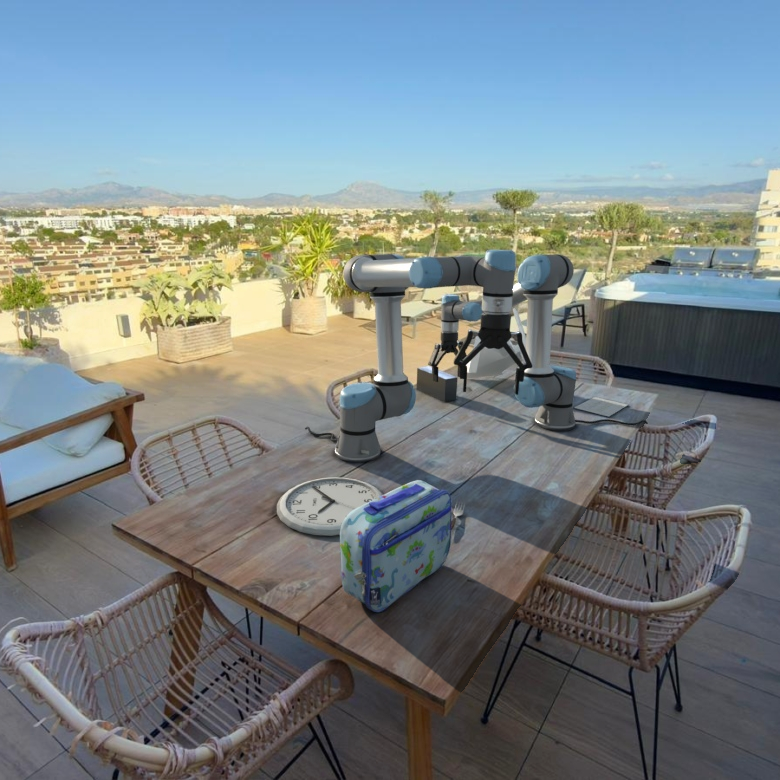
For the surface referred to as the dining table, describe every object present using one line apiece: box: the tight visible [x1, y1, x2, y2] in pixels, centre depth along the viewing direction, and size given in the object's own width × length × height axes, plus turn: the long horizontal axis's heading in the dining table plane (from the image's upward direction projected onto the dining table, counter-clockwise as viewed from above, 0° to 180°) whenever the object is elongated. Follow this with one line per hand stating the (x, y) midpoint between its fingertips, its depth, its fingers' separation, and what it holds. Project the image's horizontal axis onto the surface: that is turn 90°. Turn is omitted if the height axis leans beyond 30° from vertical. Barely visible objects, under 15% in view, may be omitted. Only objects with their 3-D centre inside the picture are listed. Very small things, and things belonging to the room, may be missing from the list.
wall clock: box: [276, 476, 385, 537], centre depth 142 cm, size 30×2×30 cm
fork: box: [451, 500, 466, 531], centre depth 135 cm, size 3×16×2 cm, turn 160°
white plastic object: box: [466, 307, 527, 380], centre depth 256 cm, size 37×45×31 cm
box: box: [416, 365, 459, 403], centre depth 238 cm, size 22×7×10 cm, turn 32°
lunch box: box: [339, 479, 452, 613], centre depth 109 cm, size 26×11×21 cm, turn 134°
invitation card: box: [573, 396, 629, 418], centre depth 226 cm, size 21×1×15 cm
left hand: (490, 391), depth 140 cm, fingers open, 13 cm apart
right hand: (447, 379), depth 230 cm, fingers open, 13 cm apart
